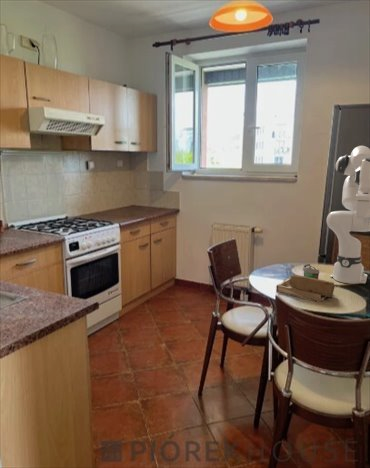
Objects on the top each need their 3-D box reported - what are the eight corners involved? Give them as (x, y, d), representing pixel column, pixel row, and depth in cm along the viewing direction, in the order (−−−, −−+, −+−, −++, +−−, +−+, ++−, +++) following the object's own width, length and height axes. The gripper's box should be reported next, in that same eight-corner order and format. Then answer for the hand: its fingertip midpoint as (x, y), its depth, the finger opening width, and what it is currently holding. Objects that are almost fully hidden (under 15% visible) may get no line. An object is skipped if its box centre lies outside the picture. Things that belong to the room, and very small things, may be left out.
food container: (298, 280, 198) (299, 263, 196) (308, 280, 199) (309, 263, 197) (307, 288, 186) (308, 270, 184) (318, 288, 187) (319, 269, 185)
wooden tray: (289, 284, 194) (289, 277, 193) (331, 293, 179) (331, 286, 178) (276, 291, 182) (276, 285, 182) (319, 302, 168) (320, 295, 167)
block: (332, 282, 166) (290, 273, 177) (329, 298, 166) (287, 288, 177) (336, 282, 175) (296, 273, 186) (333, 296, 176) (293, 287, 186)
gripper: (368, 192, 167) (365, 221, 170) (354, 196, 152) (351, 227, 155) (382, 193, 163) (380, 222, 165) (370, 197, 148) (367, 229, 150)
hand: (366, 225), depth 160 cm, fingers closed
